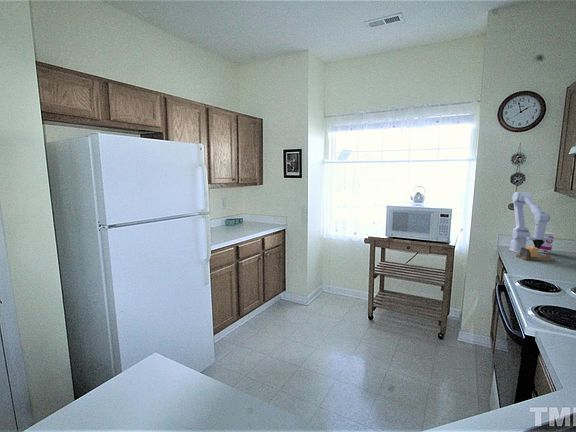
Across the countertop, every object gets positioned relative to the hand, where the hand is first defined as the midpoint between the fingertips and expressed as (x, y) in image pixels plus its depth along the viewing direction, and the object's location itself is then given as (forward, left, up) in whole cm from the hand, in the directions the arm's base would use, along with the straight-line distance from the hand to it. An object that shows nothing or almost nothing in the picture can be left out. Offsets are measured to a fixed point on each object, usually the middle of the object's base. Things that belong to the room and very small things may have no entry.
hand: (536, 250), depth 211 cm
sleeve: (0, -3, -4) cm, 5 cm away
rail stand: (0, 0, -6) cm, 6 cm away
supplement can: (-17, +18, -6) cm, 26 cm away
